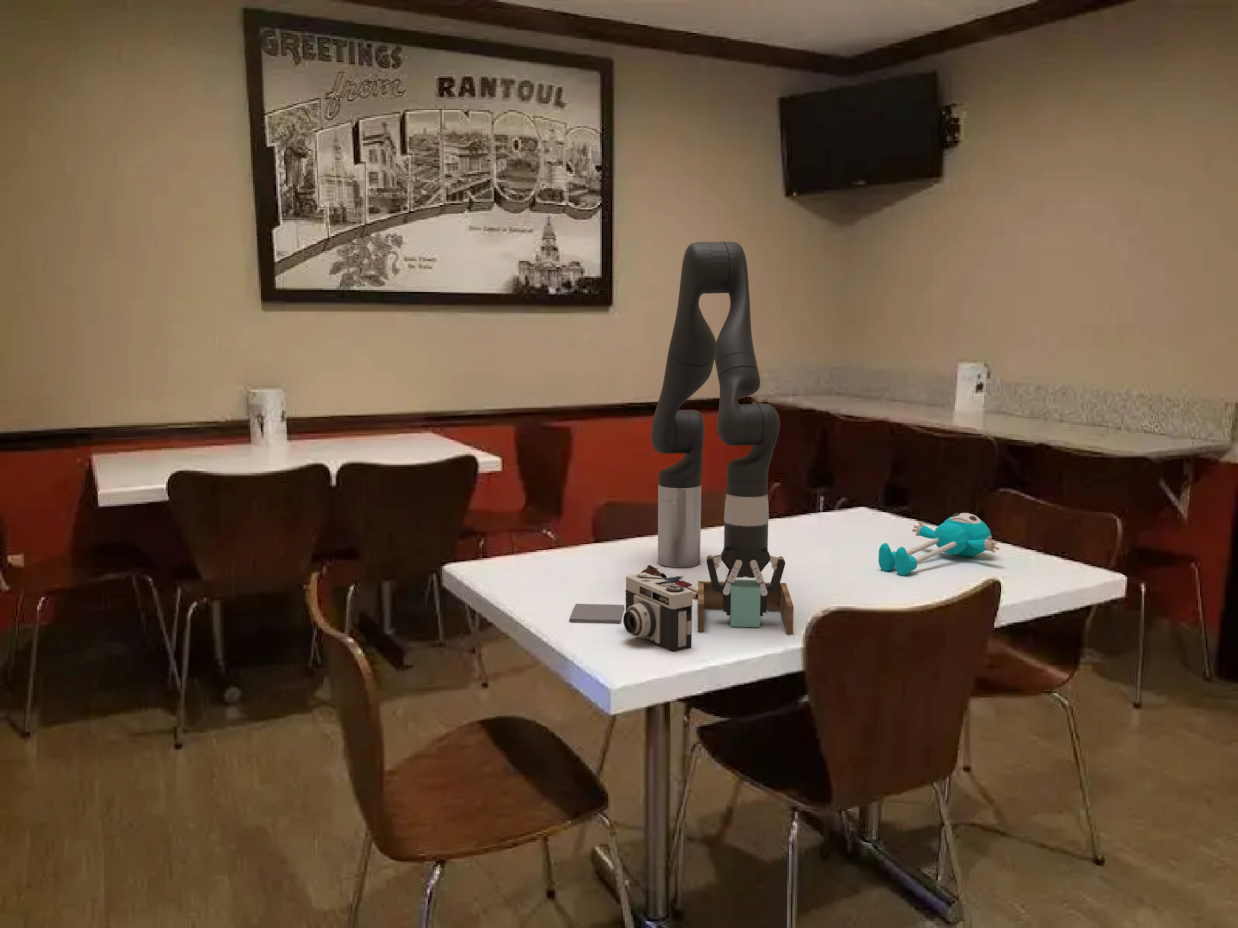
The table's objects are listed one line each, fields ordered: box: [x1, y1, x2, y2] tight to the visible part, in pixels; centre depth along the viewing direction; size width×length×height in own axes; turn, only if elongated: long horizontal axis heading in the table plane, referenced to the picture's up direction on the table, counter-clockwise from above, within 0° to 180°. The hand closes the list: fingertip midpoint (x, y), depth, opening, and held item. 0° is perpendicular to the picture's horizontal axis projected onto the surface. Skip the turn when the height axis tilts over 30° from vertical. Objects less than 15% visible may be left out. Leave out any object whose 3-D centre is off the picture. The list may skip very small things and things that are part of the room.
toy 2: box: [878, 512, 1000, 577], centre depth 211 cm, size 22×10×30 cm
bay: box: [697, 580, 795, 635], centre depth 171 cm, size 14×16×5 cm
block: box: [729, 579, 761, 628], centre depth 170 cm, size 5×5×7 cm
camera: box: [622, 572, 693, 653], centre depth 161 cm, size 14×8×10 cm, turn 33°
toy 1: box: [640, 564, 698, 601], centre depth 189 cm, size 14×5×15 cm
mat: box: [568, 603, 625, 624], centre depth 175 cm, size 9×9×1 cm
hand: (744, 614), depth 170 cm, fingers closed on block, 5 cm apart
